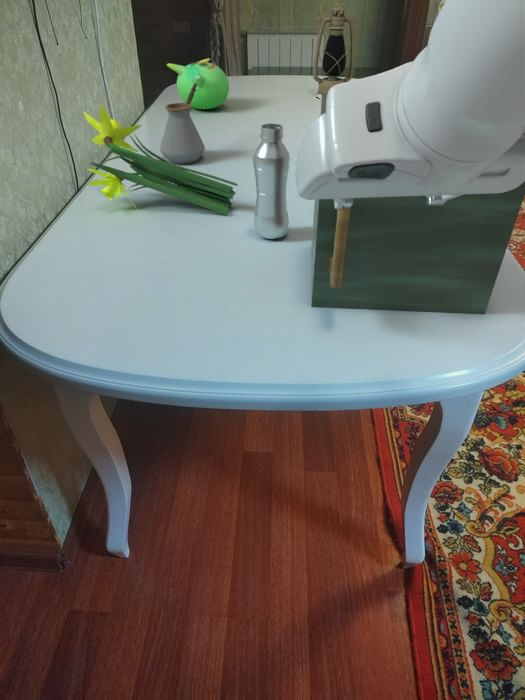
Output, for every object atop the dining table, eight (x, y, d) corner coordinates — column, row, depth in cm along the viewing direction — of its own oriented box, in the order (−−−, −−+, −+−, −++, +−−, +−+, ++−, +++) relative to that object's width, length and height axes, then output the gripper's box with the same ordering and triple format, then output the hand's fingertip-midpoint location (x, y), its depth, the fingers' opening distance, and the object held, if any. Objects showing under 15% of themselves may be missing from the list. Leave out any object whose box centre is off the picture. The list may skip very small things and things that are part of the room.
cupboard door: (495, 337, 73) (563, 151, 56) (311, 328, 74) (325, 145, 58) (483, 310, 78) (542, 133, 61) (311, 303, 79) (324, 128, 63)
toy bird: (239, 108, 172) (238, 59, 163) (203, 118, 162) (199, 66, 153) (202, 99, 181) (199, 52, 172) (166, 109, 171) (161, 59, 162)
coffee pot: (198, 168, 127) (193, 103, 117) (154, 165, 129) (146, 101, 119) (220, 142, 143) (217, 83, 134) (181, 140, 145) (175, 81, 135)
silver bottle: (282, 245, 95) (285, 133, 82) (248, 239, 97) (246, 129, 84) (292, 231, 99) (297, 123, 87) (260, 225, 101) (260, 119, 89)
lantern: (347, 92, 190) (356, -5, 172) (354, 99, 181) (365, -2, 162) (309, 92, 190) (314, -5, 171) (314, 100, 180) (320, -2, 161)
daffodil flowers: (216, 236, 100) (47, 176, 99) (224, 241, 114) (76, 189, 113) (244, 151, 97) (71, 89, 97) (248, 168, 112) (98, 114, 111)
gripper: (575, 81, 38) (483, 167, 52) (308, 85, 37) (285, 172, 50) (586, 161, 38) (490, 226, 51) (314, 169, 36) (290, 234, 50)
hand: (387, 200), depth 51 cm, fingers open, 8 cm apart
